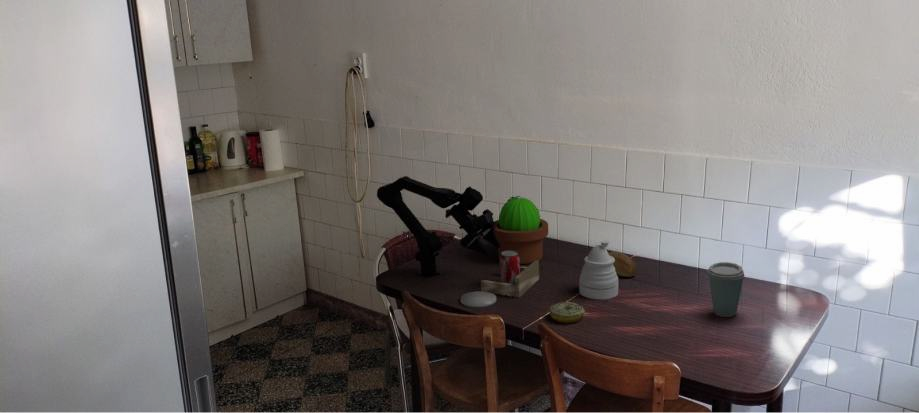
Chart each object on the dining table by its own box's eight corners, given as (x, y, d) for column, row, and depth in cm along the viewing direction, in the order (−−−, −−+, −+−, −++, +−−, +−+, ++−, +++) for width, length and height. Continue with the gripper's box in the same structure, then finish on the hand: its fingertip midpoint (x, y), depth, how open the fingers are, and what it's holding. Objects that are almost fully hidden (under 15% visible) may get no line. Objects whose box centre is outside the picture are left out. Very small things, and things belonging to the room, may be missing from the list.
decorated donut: (590, 316, 216) (590, 304, 215) (571, 327, 209) (571, 316, 208) (562, 308, 223) (562, 297, 222) (543, 319, 216) (543, 307, 215)
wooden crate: (481, 291, 239) (480, 272, 237) (502, 274, 255) (502, 256, 253) (519, 297, 233) (518, 277, 231) (539, 279, 248) (538, 260, 247)
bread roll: (628, 282, 242) (629, 260, 240) (591, 274, 251) (591, 253, 249) (641, 274, 248) (642, 253, 246) (604, 266, 258) (604, 246, 256)
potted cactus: (551, 265, 261) (550, 201, 255) (493, 268, 262) (491, 204, 255) (545, 247, 282) (544, 187, 276) (491, 249, 283) (489, 190, 276)
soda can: (519, 289, 240) (518, 256, 237) (499, 288, 241) (497, 256, 238) (521, 282, 246) (520, 250, 243) (501, 281, 248) (500, 249, 245)
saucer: (453, 299, 234) (453, 297, 234) (482, 290, 240) (482, 288, 240) (474, 310, 224) (474, 308, 224) (503, 300, 231) (503, 298, 230)
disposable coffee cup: (738, 322, 206) (741, 275, 202) (701, 316, 212) (703, 270, 208) (745, 309, 215) (748, 264, 211) (709, 303, 220) (711, 259, 216)
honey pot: (621, 287, 237) (622, 237, 233) (613, 301, 226) (613, 249, 221) (584, 283, 243) (584, 234, 238) (574, 296, 231) (574, 245, 227)
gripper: (466, 211, 234) (497, 245, 231) (489, 197, 250) (519, 229, 247) (447, 231, 239) (477, 265, 237) (471, 217, 255) (499, 248, 253)
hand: (494, 251), depth 243 cm, fingers open, 9 cm apart
